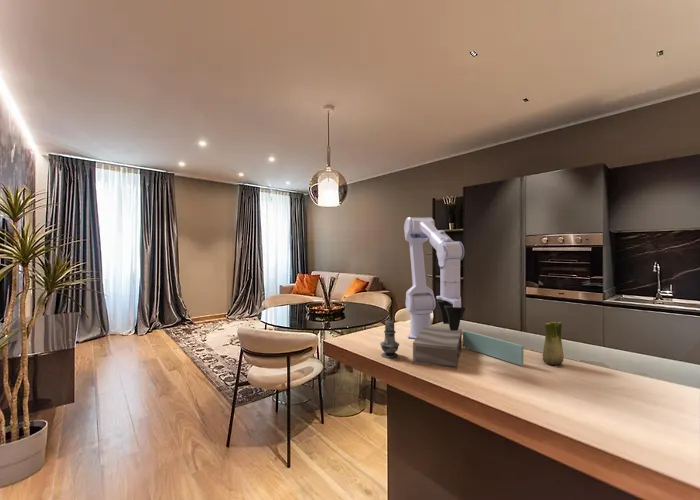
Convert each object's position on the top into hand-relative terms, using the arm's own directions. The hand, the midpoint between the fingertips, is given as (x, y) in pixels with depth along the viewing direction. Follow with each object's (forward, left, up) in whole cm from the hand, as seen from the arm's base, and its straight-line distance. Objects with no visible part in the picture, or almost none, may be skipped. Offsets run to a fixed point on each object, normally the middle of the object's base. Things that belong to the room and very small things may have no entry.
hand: (450, 326), depth 98 cm
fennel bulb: (-5, +28, -10) cm, 30 cm away
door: (-6, +11, -9) cm, 16 cm away
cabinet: (-1, -3, -9) cm, 10 cm away
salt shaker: (+5, -17, -10) cm, 20 cm away
